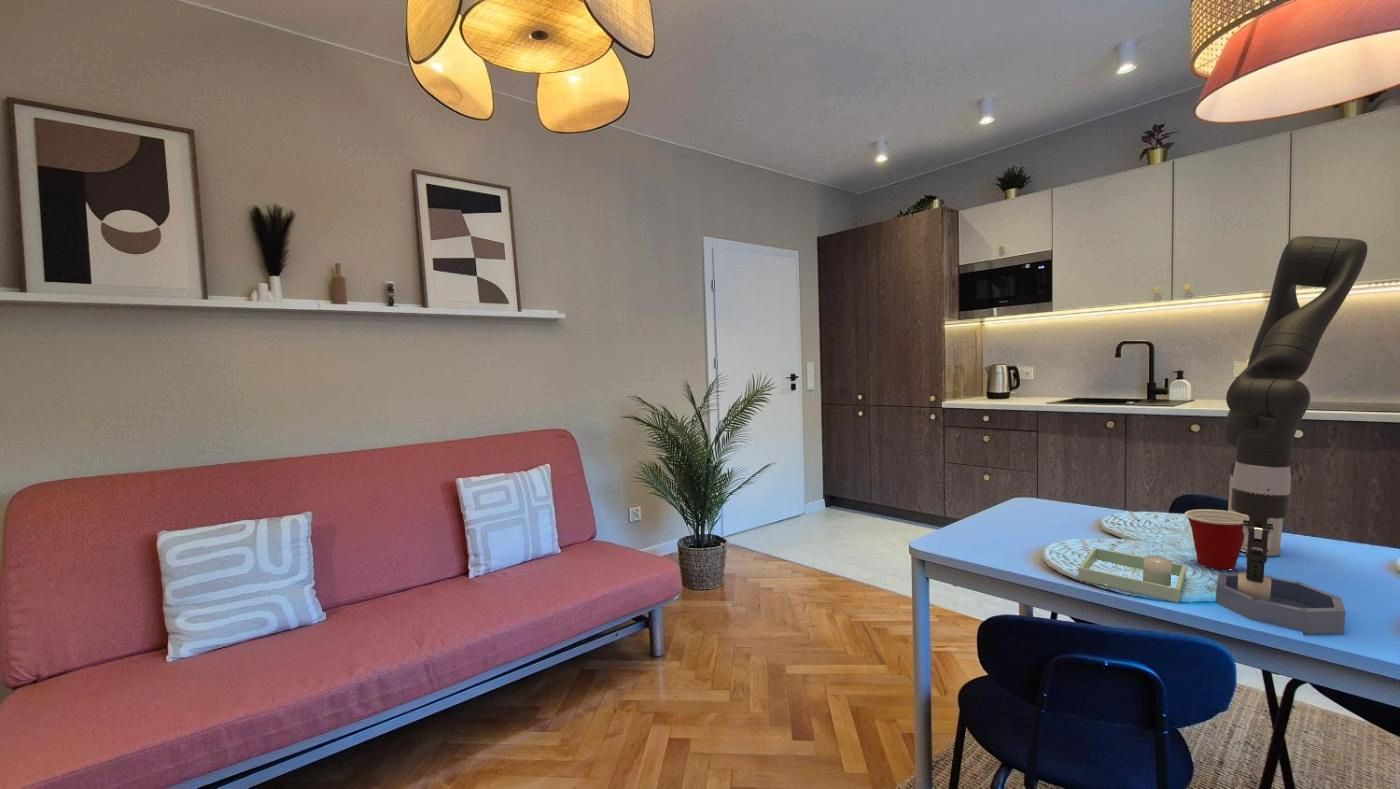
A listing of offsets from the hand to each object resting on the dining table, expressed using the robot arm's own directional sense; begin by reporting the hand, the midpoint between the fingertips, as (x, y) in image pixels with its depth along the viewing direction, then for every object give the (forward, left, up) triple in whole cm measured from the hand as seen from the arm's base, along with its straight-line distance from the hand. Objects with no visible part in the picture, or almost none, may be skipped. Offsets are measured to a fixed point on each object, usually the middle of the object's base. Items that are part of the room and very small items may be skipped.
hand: (1254, 574), depth 105 cm
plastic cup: (-20, -6, -6) cm, 22 cm away
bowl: (0, +3, -6) cm, 7 cm away
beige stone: (0, 0, -5) cm, 5 cm away
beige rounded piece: (0, -14, -6) cm, 15 cm away
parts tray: (0, -18, -6) cm, 19 cm away
